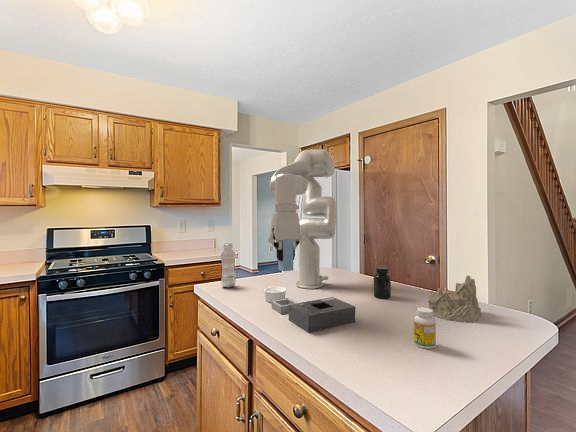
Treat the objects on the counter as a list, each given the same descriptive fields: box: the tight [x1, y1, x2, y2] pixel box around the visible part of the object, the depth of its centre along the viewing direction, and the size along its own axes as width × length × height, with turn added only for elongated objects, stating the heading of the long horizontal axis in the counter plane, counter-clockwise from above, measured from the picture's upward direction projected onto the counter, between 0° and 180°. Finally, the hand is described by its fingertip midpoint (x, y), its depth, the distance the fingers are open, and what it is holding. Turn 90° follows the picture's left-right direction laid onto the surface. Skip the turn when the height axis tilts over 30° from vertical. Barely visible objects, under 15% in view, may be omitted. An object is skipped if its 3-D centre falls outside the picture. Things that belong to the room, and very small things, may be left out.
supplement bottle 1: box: [373, 266, 392, 300], centre depth 129 cm, size 7×7×12 cm
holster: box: [271, 298, 297, 315], centre depth 114 cm, size 7×7×2 cm
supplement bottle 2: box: [413, 307, 437, 350], centre depth 85 cm, size 5×5×10 cm
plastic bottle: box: [220, 242, 237, 288], centre depth 145 cm, size 6×7×20 cm
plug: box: [277, 240, 294, 272], centre depth 113 cm, size 4×4×12 cm
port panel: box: [288, 296, 356, 333], centre depth 102 cm, size 18×12×5 cm, turn 119°
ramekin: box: [263, 286, 287, 304], centre depth 126 cm, size 9×9×4 cm
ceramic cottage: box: [427, 274, 482, 323], centre depth 109 cm, size 16×16×15 cm
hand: (285, 259), depth 113 cm, fingers closed on plug, 4 cm apart
